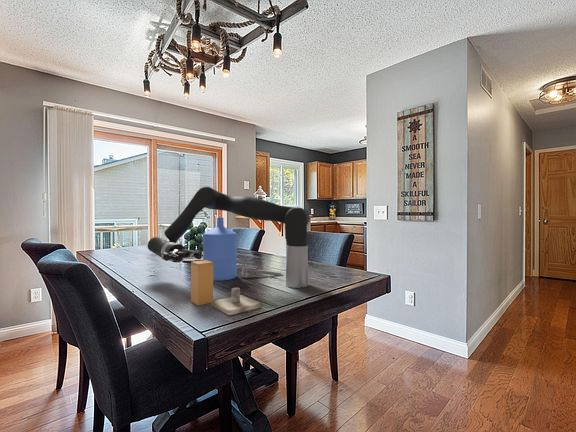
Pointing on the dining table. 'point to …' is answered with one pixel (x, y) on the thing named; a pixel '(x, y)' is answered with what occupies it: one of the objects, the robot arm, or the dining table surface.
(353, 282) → the dining table surface
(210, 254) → the water jug
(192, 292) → the orange tall block
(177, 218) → the robot arm
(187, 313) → the dining table surface
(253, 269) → the caliper
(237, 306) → the stub plate
